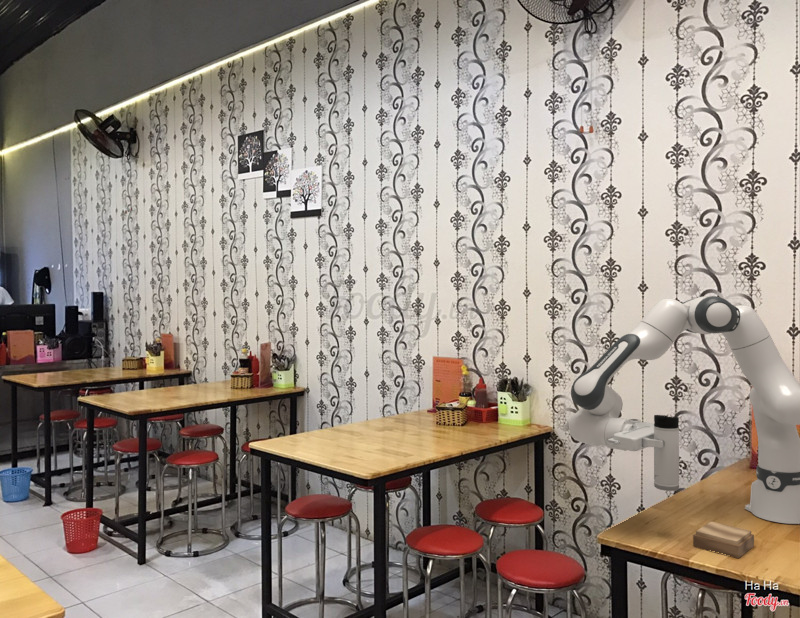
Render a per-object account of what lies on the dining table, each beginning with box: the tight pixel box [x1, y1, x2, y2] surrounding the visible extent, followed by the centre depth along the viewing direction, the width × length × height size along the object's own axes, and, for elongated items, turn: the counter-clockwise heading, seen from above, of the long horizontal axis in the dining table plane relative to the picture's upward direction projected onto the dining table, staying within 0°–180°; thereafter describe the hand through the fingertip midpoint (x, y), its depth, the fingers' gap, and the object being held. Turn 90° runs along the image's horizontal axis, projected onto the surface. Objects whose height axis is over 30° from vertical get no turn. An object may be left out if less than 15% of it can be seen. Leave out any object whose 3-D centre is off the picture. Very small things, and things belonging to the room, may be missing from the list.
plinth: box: [692, 521, 755, 560], centre depth 168 cm, size 11×11×4 cm
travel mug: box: [653, 414, 680, 492], centre depth 175 cm, size 6×7×20 cm
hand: (669, 441), depth 175 cm, fingers closed on travel mug, 6 cm apart
